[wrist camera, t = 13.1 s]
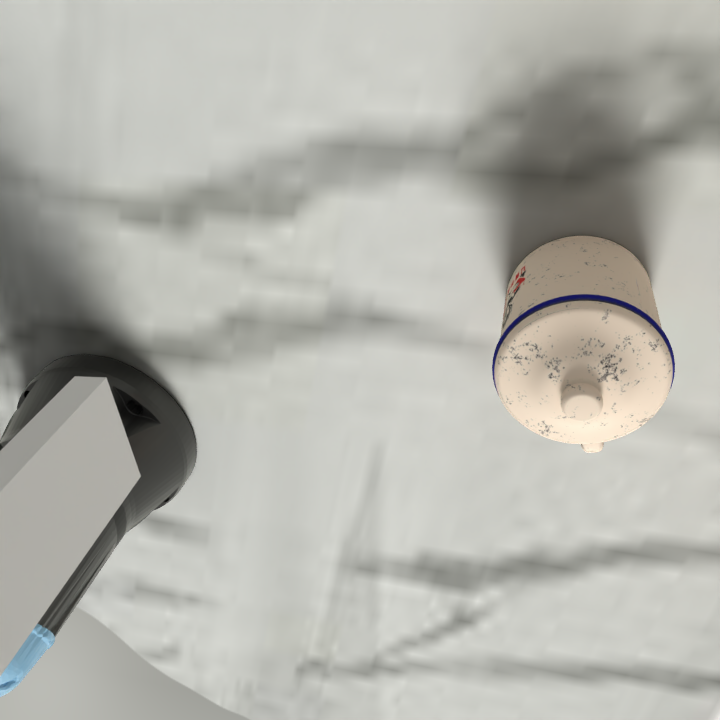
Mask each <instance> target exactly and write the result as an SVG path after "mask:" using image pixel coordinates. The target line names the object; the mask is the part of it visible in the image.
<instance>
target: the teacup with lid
mask: <svg viewBox="0 0 720 720" xmlns="http://www.w3.org/2000/svg"><path fill="white" fill-rule="evenodd" d="M492 371H493V380H494V384H495V388H496V390H497V393H498V395H499V397H500V399H501V401H502V403H503V404H504V406H505V407H506V409H507V410H508V411H509V412H510V414H511V415H512V416H513V417H514V418H515V419H516V420H517V421H519V422H520V423H521V424H522V425H524V426H525V427H527V428H528V429H530V430H531V431H533V432H535V433H537V434H539V435H541V436H543V437H546V438H549V439H552V440H555V441H560V442H565V443H572V444H581V447H582V449H583V450H584V451H585V452H588V453H593V452H600V451H601V450H602V449H603V445H604V444H603V442H606V441H610V440H614V439H617V438H620V437H622V436H625V435H627V434H629V433H631V432H633V431H635V430H636V429H638V428H639V427H641V426H642V425H644V424H645V423H646V422H647V421H649V420H650V419H651V418H652V417H653V416H654V415H655V414H656V413H657V411H658V410H659V409H660V408H661V406H662V405H663V403H664V402H665V400H666V398H667V396H668V393H669V391H670V389H671V386H672V383H673V379H674V372H675V362H674V355H673V351H672V348H671V345H670V343H669V340H668V338H667V337H666V335H665V333H664V332H663V330H662V328H661V324H660V320H659V316H658V312H657V307H656V303H655V299H654V295H653V291H652V287H651V283H650V279H649V277H648V274H647V272H646V270H645V268H644V267H643V265H642V264H641V263H640V261H639V260H638V259H637V258H636V257H635V256H634V255H633V254H632V253H631V252H630V251H628V250H627V249H626V248H624V247H622V246H621V245H619V244H617V243H615V242H612V241H610V240H607V239H603V238H599V237H593V236H571V237H565V238H560V239H557V240H554V241H551V242H549V243H546V244H544V245H542V246H540V247H539V248H537V249H536V250H534V251H533V252H531V253H530V254H529V255H528V256H527V257H526V258H525V259H524V260H523V261H522V262H521V263H520V264H519V265H518V267H517V268H516V270H515V271H514V273H513V275H512V277H511V279H510V282H509V285H508V288H507V293H506V300H505V308H504V315H503V323H502V330H501V338H500V340H499V342H498V344H497V347H496V350H495V353H494V357H493V365H492Z"/></svg>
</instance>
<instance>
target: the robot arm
mask: <svg viewBox="0 0 720 720" xmlns="http://www.w3.org/2000/svg"><path fill="white" fill-rule="evenodd" d="M196 454H197V451H196V441H195V437H194V434H193V431H192V428H191V426H190V423H189V421H188V419H187V418H186V416H185V414H184V413H183V411H182V410H181V408H180V407H179V405H178V404H177V403H176V402H175V400H174V399H173V398H172V397H171V396H170V395H169V394H168V393H167V392H166V391H165V390H164V389H163V388H162V387H161V386H159V385H158V384H157V383H156V382H155V381H153V380H152V379H150V378H149V377H148V376H146V375H145V374H143V373H141V372H140V371H138V370H136V369H134V368H132V367H130V366H128V365H126V364H124V363H121V362H119V361H116V360H113V359H110V358H106V357H101V356H96V355H72V356H67V357H63V358H60V359H58V360H56V361H54V362H52V363H51V364H49V365H48V366H47V367H46V368H45V369H43V370H42V371H41V372H40V373H39V374H38V375H37V376H36V377H35V378H34V379H33V380H31V382H30V383H29V384H28V385H27V387H26V388H25V389H24V391H23V393H22V395H21V397H20V399H19V402H18V406H17V410H16V411H15V413H14V414H13V416H12V418H11V419H10V421H9V423H8V425H7V427H6V429H5V431H4V433H3V435H2V438H1V440H0V697H1V696H3V695H5V694H7V693H9V692H10V691H11V690H13V689H14V688H15V687H16V686H18V684H19V683H20V682H21V681H22V680H23V678H24V677H25V676H26V675H27V673H28V672H29V671H30V670H31V669H32V667H33V666H34V665H35V664H36V662H37V661H38V660H39V659H40V658H41V656H42V655H43V654H44V652H45V651H46V650H47V649H49V648H50V647H51V646H52V645H53V643H54V642H55V637H56V635H57V634H58V632H59V631H60V629H61V628H62V626H63V625H64V623H65V621H66V620H67V619H68V617H69V616H70V614H71V613H72V611H73V610H74V608H75V607H76V605H77V604H78V602H79V601H80V599H81V598H82V597H83V595H84V594H85V592H86V591H87V589H88V588H89V586H90V585H91V583H92V582H93V580H94V579H95V577H96V576H97V574H98V573H99V571H100V570H101V568H102V567H103V565H104V564H105V562H106V561H107V560H108V558H109V557H110V555H111V554H112V552H113V551H114V549H115V548H116V546H117V545H118V543H119V542H120V540H121V539H122V537H123V536H124V535H125V533H126V532H128V531H129V530H131V529H132V528H133V527H135V526H136V525H137V524H139V523H140V522H141V521H142V520H143V519H145V518H146V517H147V516H148V515H149V514H150V513H151V512H152V511H153V510H156V509H158V508H160V507H162V506H164V505H165V504H166V503H168V502H169V501H171V500H172V499H173V498H174V497H175V496H176V495H177V494H178V492H179V491H180V490H181V488H182V487H183V485H184V484H185V482H186V481H187V479H188V478H189V476H190V474H191V473H192V471H193V468H194V466H195V462H196Z"/></svg>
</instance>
